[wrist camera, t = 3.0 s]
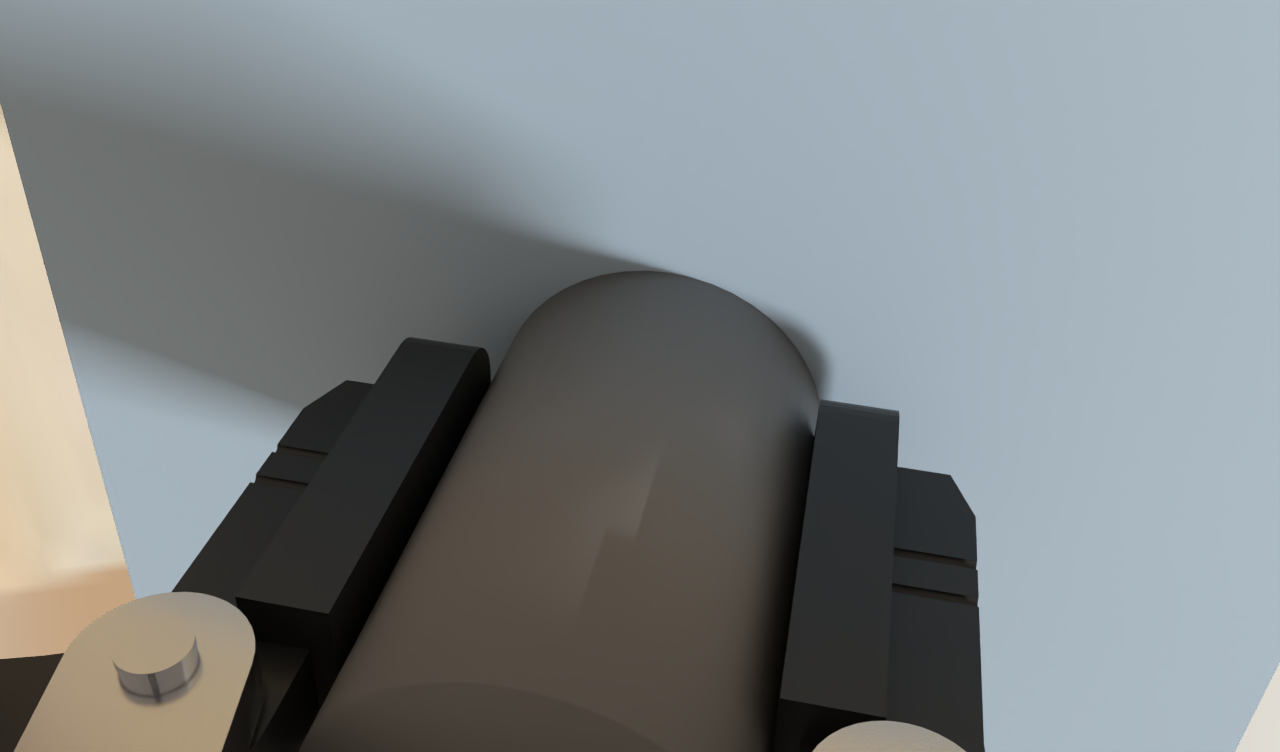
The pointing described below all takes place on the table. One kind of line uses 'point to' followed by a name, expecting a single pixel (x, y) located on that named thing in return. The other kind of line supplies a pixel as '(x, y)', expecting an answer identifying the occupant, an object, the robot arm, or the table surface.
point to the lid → (694, 329)
